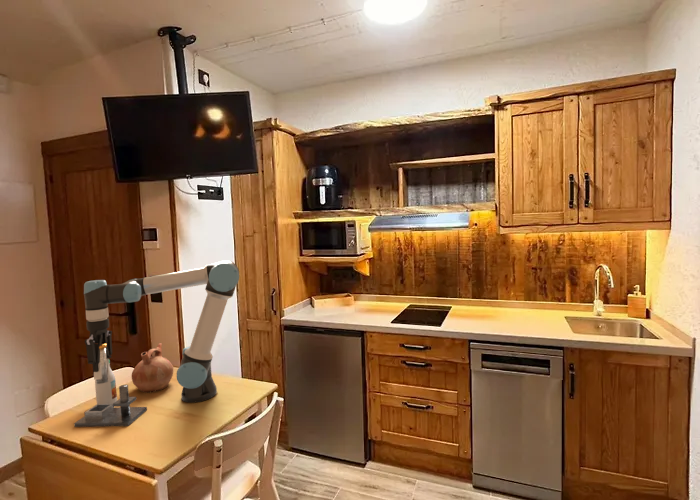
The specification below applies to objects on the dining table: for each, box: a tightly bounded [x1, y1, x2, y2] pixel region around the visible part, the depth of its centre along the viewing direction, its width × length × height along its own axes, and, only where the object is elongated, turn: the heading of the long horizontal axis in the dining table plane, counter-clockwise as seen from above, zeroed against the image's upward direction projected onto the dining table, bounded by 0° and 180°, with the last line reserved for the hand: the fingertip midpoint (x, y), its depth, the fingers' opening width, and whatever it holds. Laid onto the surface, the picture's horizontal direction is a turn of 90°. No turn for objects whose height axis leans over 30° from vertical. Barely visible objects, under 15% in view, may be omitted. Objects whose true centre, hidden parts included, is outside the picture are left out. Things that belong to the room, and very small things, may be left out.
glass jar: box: [96, 343, 108, 384], centre depth 155 cm, size 5×5×15 cm
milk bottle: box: [94, 359, 118, 404], centre depth 173 cm, size 8×8×20 cm
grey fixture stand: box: [73, 384, 148, 428], centre depth 159 cm, size 22×13×14 cm, turn 87°
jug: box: [131, 342, 174, 394], centre depth 189 cm, size 18×18×20 cm
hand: (102, 376), depth 155 cm, fingers closed on glass jar, 4 cm apart
